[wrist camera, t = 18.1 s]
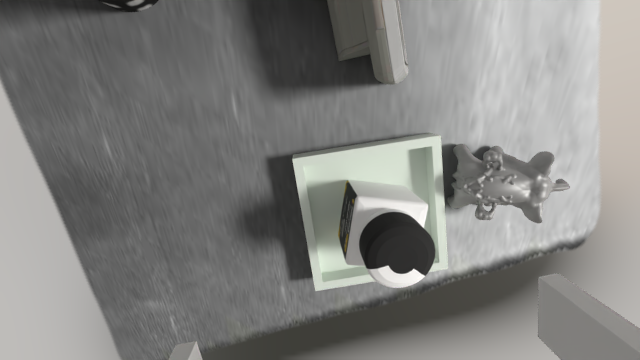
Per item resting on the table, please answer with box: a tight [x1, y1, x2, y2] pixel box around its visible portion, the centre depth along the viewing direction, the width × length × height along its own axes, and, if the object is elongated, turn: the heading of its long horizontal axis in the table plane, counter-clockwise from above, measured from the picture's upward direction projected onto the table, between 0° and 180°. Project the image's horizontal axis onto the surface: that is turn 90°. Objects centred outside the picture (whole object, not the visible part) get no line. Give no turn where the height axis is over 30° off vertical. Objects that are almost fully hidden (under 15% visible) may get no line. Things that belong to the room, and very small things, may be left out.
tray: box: [292, 133, 448, 291], centre depth 37 cm, size 16×16×3 cm
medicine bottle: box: [338, 180, 435, 288], centre depth 31 cm, size 7×7×12 cm
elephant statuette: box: [447, 144, 570, 223], centre depth 34 cm, size 9×12×8 cm
